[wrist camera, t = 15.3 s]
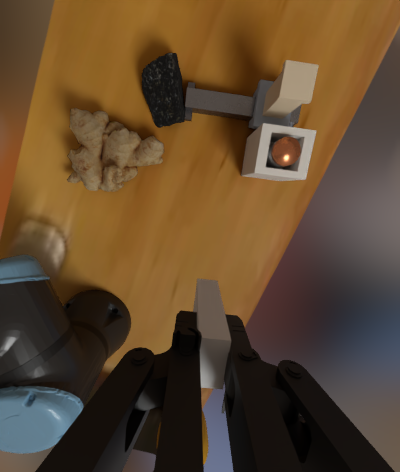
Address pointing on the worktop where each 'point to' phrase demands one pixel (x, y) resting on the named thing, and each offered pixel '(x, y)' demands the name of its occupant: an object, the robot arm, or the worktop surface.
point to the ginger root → (108, 151)
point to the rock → (164, 90)
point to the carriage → (283, 94)
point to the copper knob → (283, 152)
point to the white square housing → (260, 145)
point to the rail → (224, 105)
